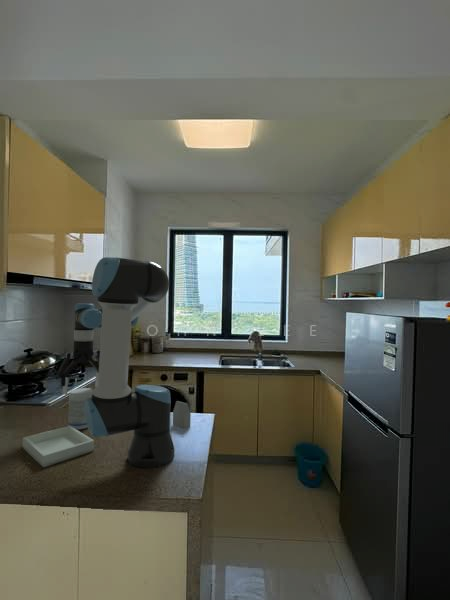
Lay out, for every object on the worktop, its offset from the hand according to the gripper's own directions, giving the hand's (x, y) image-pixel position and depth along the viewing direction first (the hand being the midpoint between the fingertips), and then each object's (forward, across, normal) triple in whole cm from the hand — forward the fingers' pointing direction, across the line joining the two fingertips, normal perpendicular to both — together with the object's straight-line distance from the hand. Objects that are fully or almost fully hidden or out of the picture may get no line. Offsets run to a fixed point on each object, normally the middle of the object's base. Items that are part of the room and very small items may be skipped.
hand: (81, 390), depth 132 cm
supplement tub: (+15, 0, 0) cm, 15 cm away
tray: (+14, +15, +16) cm, 26 cm away
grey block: (+14, -29, +30) cm, 44 cm away
